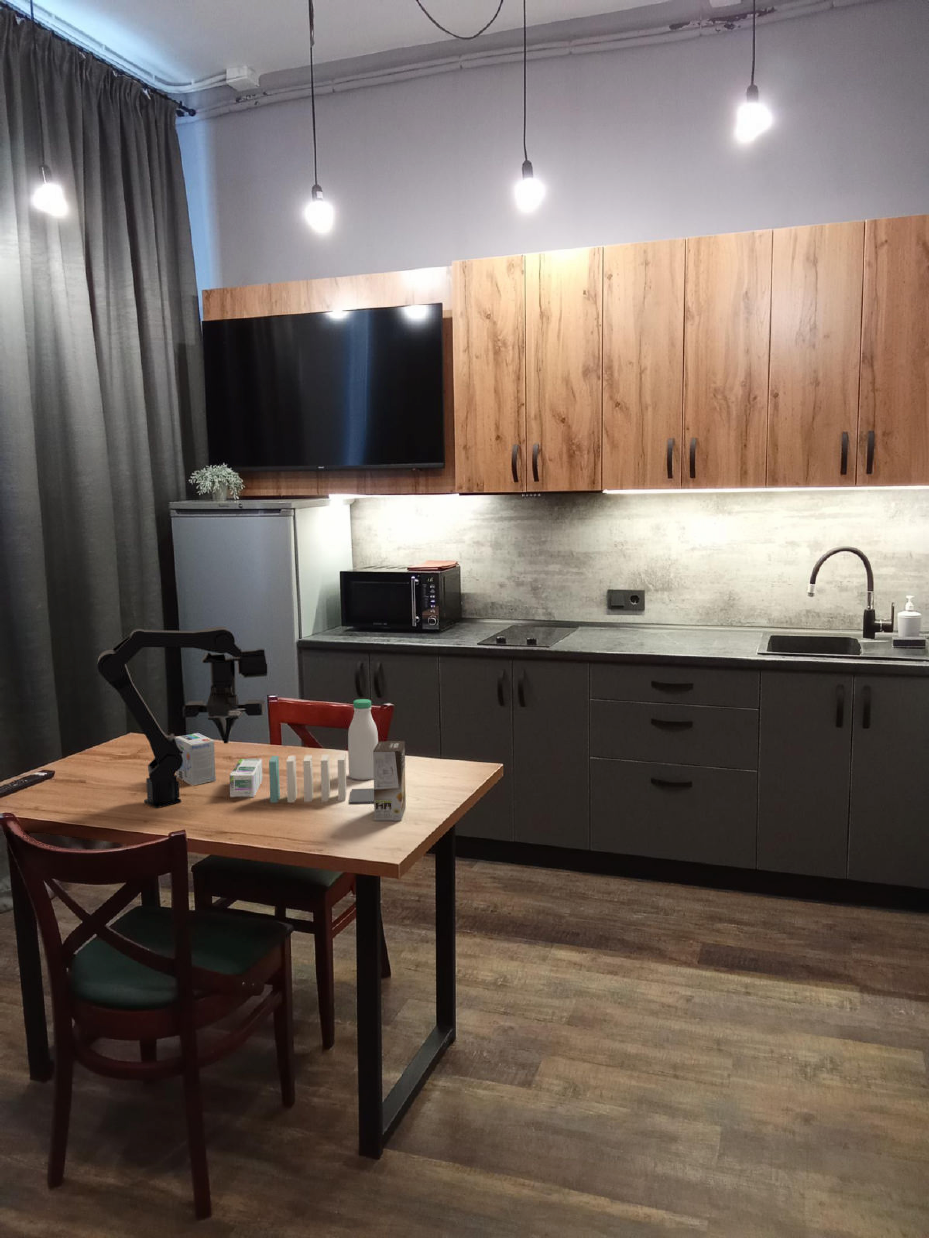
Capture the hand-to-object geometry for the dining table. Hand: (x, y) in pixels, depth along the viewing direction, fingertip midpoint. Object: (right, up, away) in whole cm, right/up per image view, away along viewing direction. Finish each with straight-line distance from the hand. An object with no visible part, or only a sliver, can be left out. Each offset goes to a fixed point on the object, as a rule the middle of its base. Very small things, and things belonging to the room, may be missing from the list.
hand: (226, 743), depth 230 cm
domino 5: (+28, -13, -1) cm, 31 cm away
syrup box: (+3, -9, +13) cm, 16 cm away
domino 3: (+20, -13, -1) cm, 24 cm away
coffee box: (+41, -15, -13) cm, 45 cm away
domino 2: (+16, -13, -2) cm, 21 cm away
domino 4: (+24, -13, -1) cm, 28 cm away
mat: (+35, -13, 0) cm, 38 cm away
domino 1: (+12, -13, -2) cm, 18 cm away
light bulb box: (-12, -11, +15) cm, 22 cm away
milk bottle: (+32, -11, +16) cm, 37 cm away
